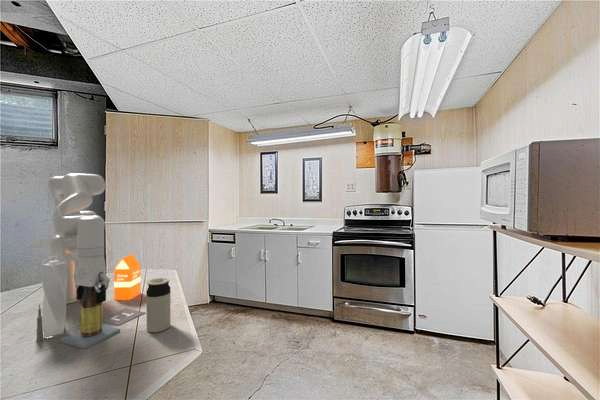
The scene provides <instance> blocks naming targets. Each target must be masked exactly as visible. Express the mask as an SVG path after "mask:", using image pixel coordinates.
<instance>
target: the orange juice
mask: <svg viewBox="0 0 600 400" xmlns="http://www.w3.org/2000/svg"><path fill="white" fill-rule="evenodd" d="M113 272H114V275H113V277H114V278H113V279H114V280H113V288H114V291H113V293H114V296H113V297H114V300H115V301H117V300H118V301H119V300H121V301H123V300H124V301H126V300H132V299H134V298H135V297H136V296H139V295H140V294H141V279H142V278H141V263H140V262H139V261H138V260H137V259H136V257H135V256H134V254H132V253H131V254H129V255H128V256H124V257H122V258H121V259H120V261H119V262H118V263H117V265H116V267H115V268H114V269H113Z"/></svg>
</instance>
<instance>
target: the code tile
mask: <svg viewBox="0 0 600 400" xmlns="http://www.w3.org/2000/svg"><path fill="white" fill-rule="evenodd" d="M145 314H147V311H141V310H136V309H130V308H123V309H120V310H119V311H115V312H112V313H111V314H109V315H107V316H106V315H105V316H104V317H103V316H102V319H103V323H106V324H110V325H115V326H122V325H123V324H125V323H127V322H129V321H131V320H134V319H136V318H138V317H140V316H142V315H145Z"/></svg>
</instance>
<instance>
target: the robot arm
mask: <svg viewBox="0 0 600 400" xmlns="http://www.w3.org/2000/svg"><path fill="white" fill-rule="evenodd" d="M47 187H48V190H49V193H50V195H51V197H52V199H53V202H54V209H53V212H52V223H53V229H54V233H55V234H56V235H53V236H52V237H51V239H50V240H49V249H50V253H51V256H53V255H57V259H56V260H59V262H61V261H65V260H67V261H68V264H67V273H66V279H65V284H64V292H65V298H66V305H68V304H72V303H76V302H78V301H79V302H80V301H81V298H82V296H83V293H84V286H86V287H93V286H94V287H95V289H96V291H97V292H95V303H96V304H99V303H102V304H103V302H106V301H107V289H108V287H109V285H110V280H111V279H110V278H109V277H108V276H107V269H106V260H105V225H106V223H105V220H104V218H102V216H100V215H97V213H96V212H95V211H93V210H84V209H86V208H88V207H90V206H91V205H92V204H93V201H94V200H93V196H97V195H101V194H103V193H104V191H105V190H106V182H105V179H104V178H103V176H102V175H100V174H97V173H95V174H93V173H79V172H77V173H75V172H74V173H73V172H72V173H68V174H65V175H63V176H62V175H60V176H59V175H57V176H52V177H50V178H49V179H48V180H47ZM74 254H76V257H75V256H74ZM55 258H56V257H51V261H54V260H55Z"/></svg>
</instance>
